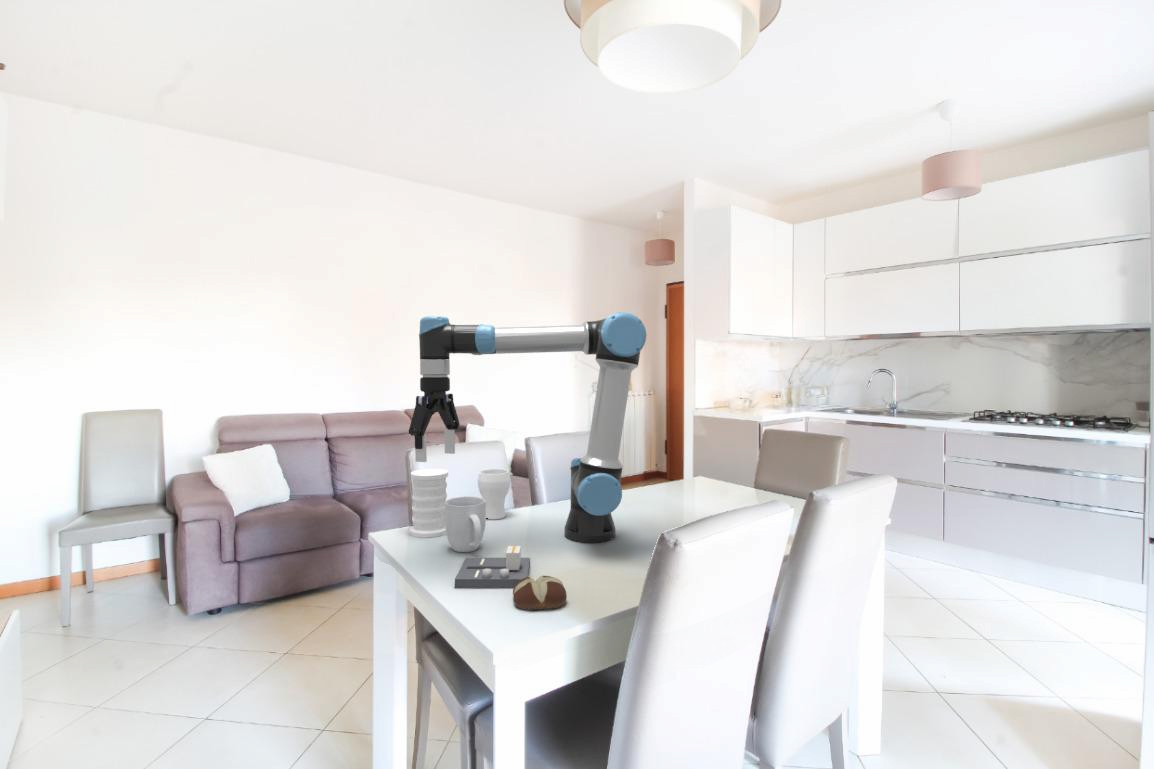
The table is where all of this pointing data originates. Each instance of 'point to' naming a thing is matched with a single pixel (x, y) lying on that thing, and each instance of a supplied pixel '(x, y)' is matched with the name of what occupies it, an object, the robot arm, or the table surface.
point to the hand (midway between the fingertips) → (436, 457)
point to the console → (490, 573)
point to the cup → (494, 491)
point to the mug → (465, 522)
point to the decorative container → (428, 502)
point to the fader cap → (513, 557)
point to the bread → (539, 593)
